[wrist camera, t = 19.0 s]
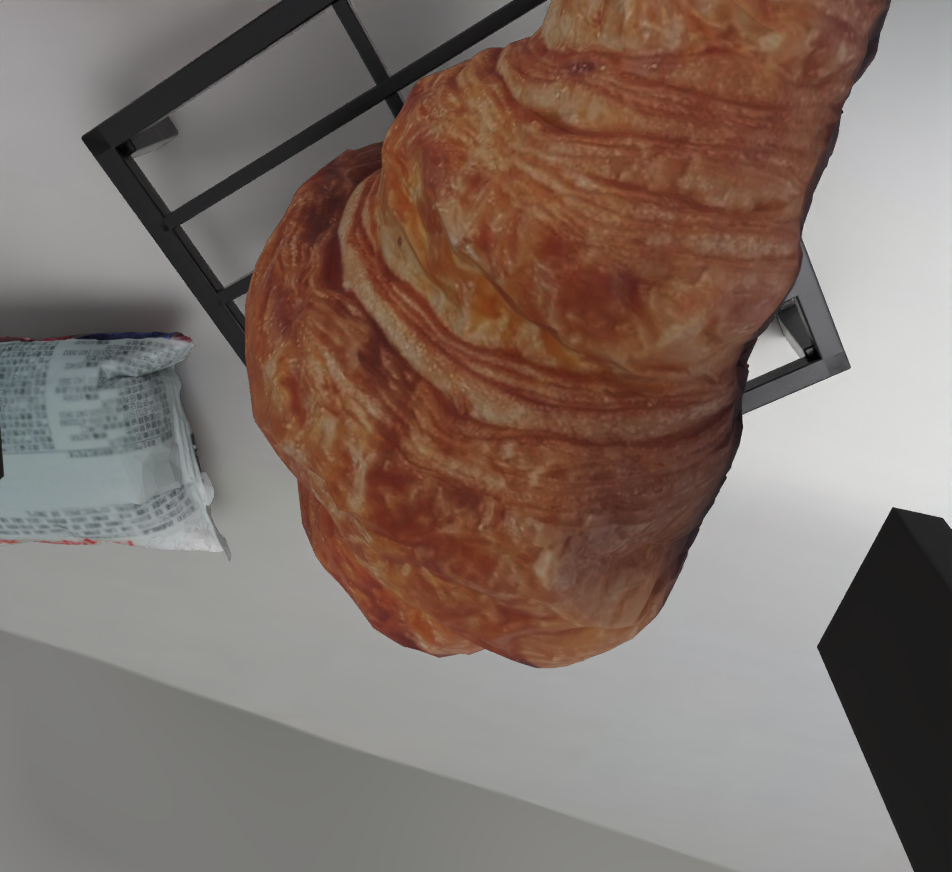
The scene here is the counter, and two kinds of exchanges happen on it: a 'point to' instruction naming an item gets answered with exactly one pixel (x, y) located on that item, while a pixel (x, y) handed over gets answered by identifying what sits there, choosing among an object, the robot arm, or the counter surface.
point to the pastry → (546, 314)
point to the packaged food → (101, 444)
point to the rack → (302, 3)
